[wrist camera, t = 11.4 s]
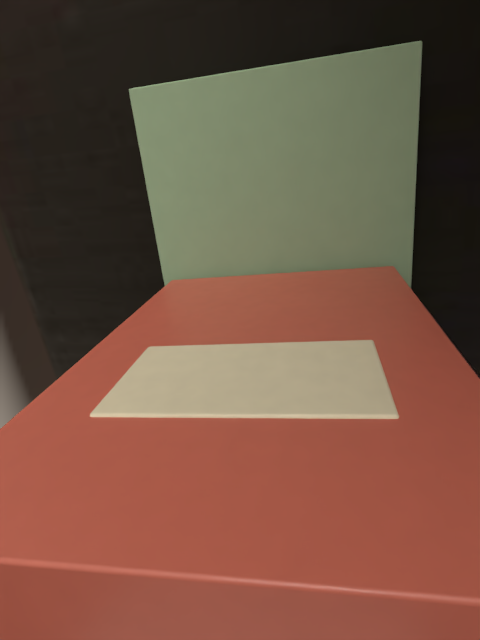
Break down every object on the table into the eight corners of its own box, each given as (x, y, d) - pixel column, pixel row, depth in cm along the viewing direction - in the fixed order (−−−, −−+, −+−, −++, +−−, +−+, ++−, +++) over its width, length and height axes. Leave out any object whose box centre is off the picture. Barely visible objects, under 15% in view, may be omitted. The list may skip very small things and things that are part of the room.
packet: (171, 278, 13) (-144, 545, 4) (394, 263, 12) (669, 614, 3) (194, 409, 15) (12, 797, 6) (390, 409, 14) (546, 914, 5)
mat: (138, 92, 12) (127, 88, 12) (415, 47, 11) (423, 39, 10) (209, 494, 18) (205, 508, 17) (396, 502, 16) (400, 519, 16)
